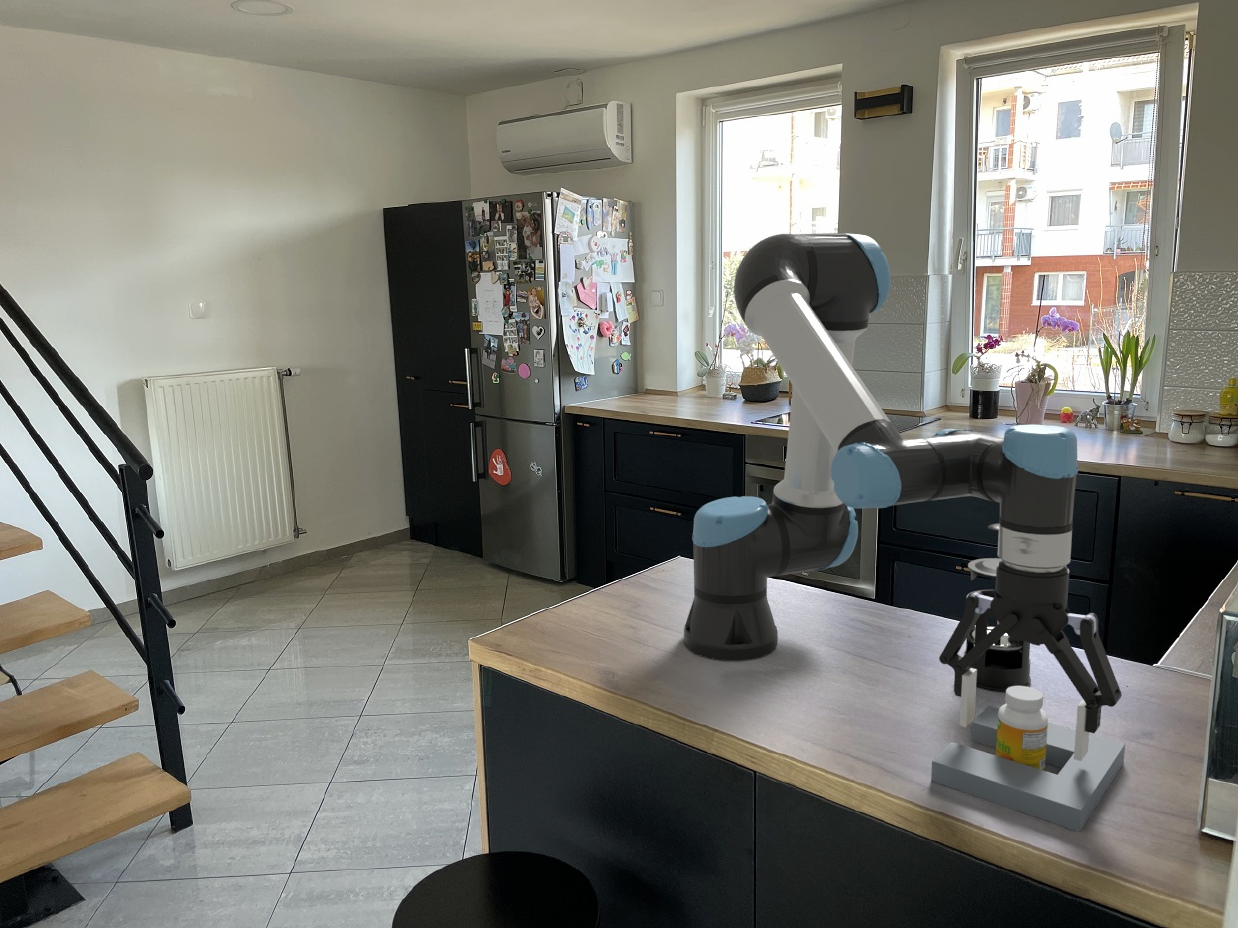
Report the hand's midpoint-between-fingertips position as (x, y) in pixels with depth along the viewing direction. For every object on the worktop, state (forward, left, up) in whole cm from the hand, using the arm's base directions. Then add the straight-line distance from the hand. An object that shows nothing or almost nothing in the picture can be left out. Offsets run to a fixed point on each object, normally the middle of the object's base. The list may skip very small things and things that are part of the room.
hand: (1021, 738), depth 107 cm
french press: (-11, +24, -4) cm, 27 cm away
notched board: (+1, 0, -4) cm, 4 cm away
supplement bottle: (0, 0, -4) cm, 4 cm away
